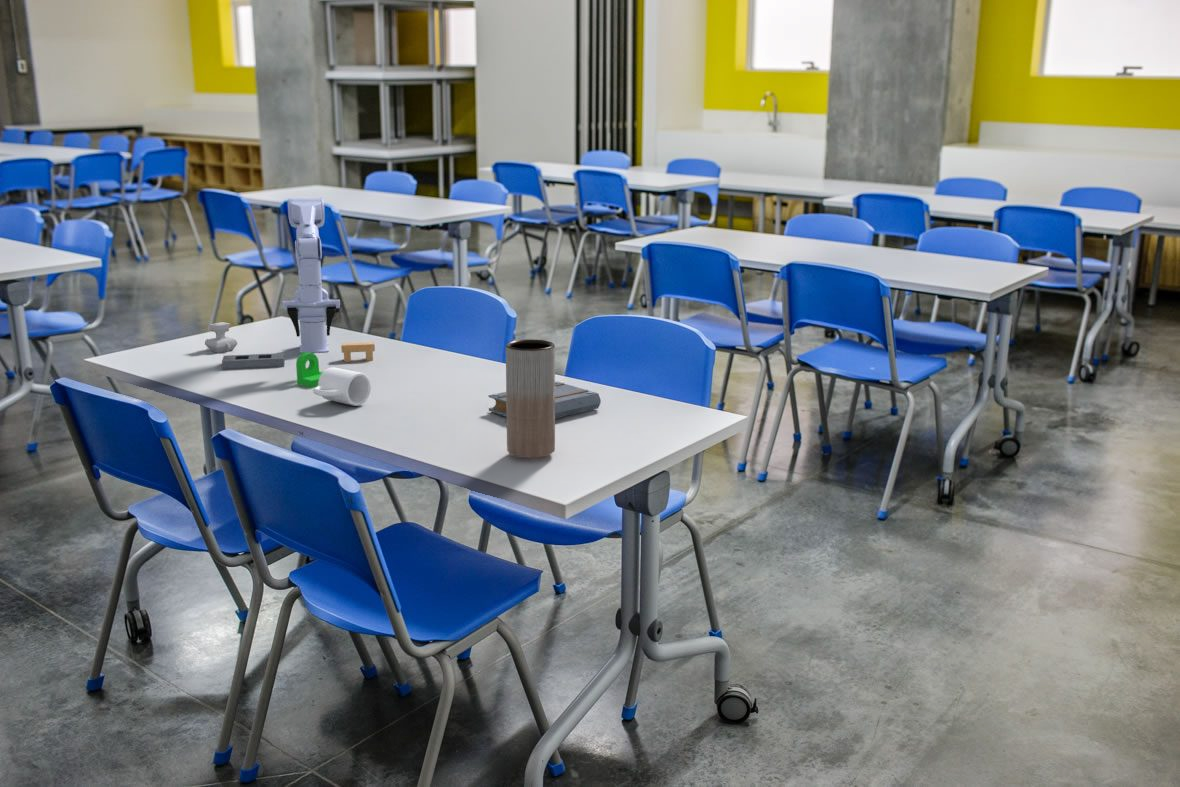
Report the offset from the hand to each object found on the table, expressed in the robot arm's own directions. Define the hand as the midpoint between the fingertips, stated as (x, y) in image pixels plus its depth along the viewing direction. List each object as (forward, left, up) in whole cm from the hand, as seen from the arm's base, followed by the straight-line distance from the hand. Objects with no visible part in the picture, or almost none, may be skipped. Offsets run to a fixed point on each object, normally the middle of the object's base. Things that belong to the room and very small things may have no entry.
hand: (313, 335), depth 292 cm
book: (+47, +53, -11) cm, 72 cm away
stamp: (-33, -26, -11) cm, 43 cm away
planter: (+78, +44, -11) cm, 90 cm away
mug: (+32, +5, -11) cm, 34 cm away
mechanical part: (+9, +2, -11) cm, 14 cm away
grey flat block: (-13, -16, -10) cm, 23 cm away
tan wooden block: (-13, +12, -10) cm, 20 cm away
